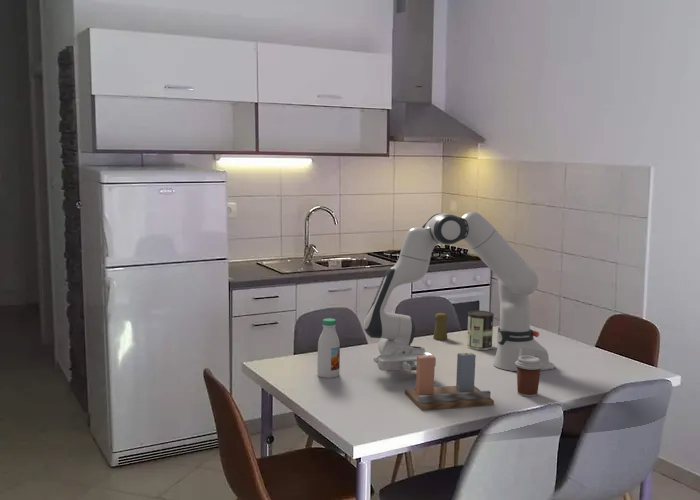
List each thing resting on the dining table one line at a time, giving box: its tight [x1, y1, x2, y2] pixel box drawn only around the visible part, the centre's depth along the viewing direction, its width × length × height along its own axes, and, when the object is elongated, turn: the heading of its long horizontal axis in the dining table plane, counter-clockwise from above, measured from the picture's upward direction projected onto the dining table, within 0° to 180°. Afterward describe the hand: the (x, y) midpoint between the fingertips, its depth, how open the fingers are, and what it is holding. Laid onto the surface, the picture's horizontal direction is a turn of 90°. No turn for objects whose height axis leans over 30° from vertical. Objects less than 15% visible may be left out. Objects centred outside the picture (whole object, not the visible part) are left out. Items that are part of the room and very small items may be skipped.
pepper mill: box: [432, 312, 448, 342], centre depth 310 cm, size 6×6×11 cm
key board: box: [404, 385, 495, 412], centre depth 235 cm, size 24×16×4 cm, turn 105°
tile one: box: [415, 355, 436, 395], centre depth 235 cm, size 5×3×12 cm, turn 105°
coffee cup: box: [515, 356, 543, 398], centre depth 241 cm, size 9×9×12 cm
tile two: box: [455, 352, 476, 392], centre depth 239 cm, size 5×3×12 cm, turn 105°
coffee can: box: [466, 310, 495, 351], centre depth 298 cm, size 10×10×14 cm
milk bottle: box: [316, 317, 341, 379], centre depth 256 cm, size 8×8×20 cm
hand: (413, 368), depth 246 cm, fingers closed
